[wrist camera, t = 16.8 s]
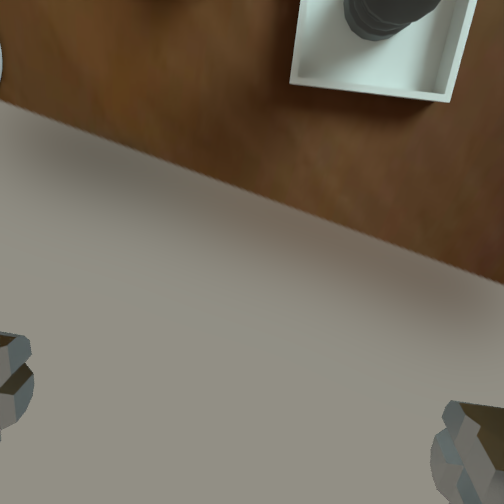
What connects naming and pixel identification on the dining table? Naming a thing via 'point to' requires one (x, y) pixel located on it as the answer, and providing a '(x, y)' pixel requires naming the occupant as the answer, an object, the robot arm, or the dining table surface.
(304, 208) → the dining table surface
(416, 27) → the box
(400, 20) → the candle holder
